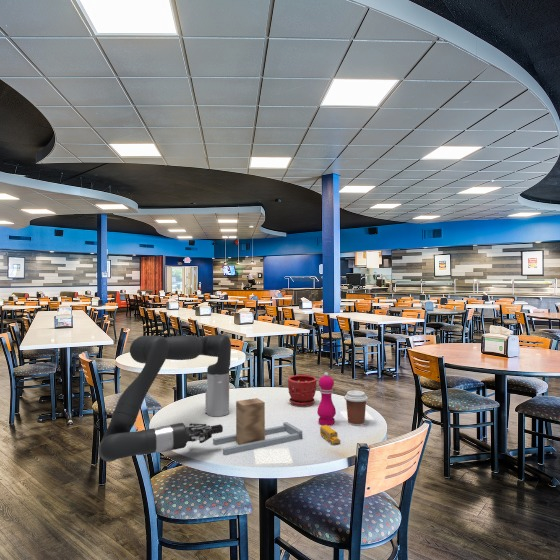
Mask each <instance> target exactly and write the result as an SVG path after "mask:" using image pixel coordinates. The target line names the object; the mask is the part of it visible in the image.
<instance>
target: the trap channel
mask: <svg viewBox="0 0 560 560" xmlns="http://www.w3.org/2000/svg"><path fill="white" fill-rule="evenodd" d="M284 432H286V433H288V434H286V435H282V436H276V437H271V438H265V440H261V441H256V442H251V443H246V444H241V445H239V444H238V445H232V446H228V447H223V448H222V454H223V456H229V455H232V454H238V453H241V452H242V453H243V452H246V451H252V450H256V449H261V448H266V447H270V446H275V445H280V444H284V443H291V442H294V441H297V440H302V439H303V430H301V429H300V428H299V427H297V426H295V425H293V424H291V423H289V422H287V421H285V422H283V425H279V426H274V427H267V428H265V436H268V435H273V434H279V433H284ZM233 442H236V433H235V434H231V435H224V436H221V437H215V438H212V444H213V445H214V446H219V445H223V444H228V443H233Z"/></svg>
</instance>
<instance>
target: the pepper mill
mask: <svg viewBox="0 0 560 560" xmlns="http://www.w3.org/2000/svg"><path fill="white" fill-rule="evenodd" d="M334 384H335V381H334V379H333V378H332V377H331V376H329V372H326V371H325V372H324V373H323V376H321V377H320V378H319V379H318V386H319V390H320V391H319V393H320V394H321V398H320V399H321V400H320V402H319V405H318V406H317V407H318V408H317V415H318V425H320V424H321V425H320V426H323V425H327V426H329V425H330V426H333V424H334V423H335V418H334V417H335V416H336V413H337V411H336V407H335V405H334V403H333V399H332V395H333V392H334V391H333V390H334V389H333V387H334V386H335V385H334ZM334 425H335V424H334ZM330 426H329V427H330Z"/></svg>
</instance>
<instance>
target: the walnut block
mask: <svg viewBox="0 0 560 560" xmlns="http://www.w3.org/2000/svg"><path fill="white" fill-rule="evenodd" d="M265 405H266V404H265V401H263V400H261V399H259V398H258V397H257V398H255V397H254V398H249V399H241V400H236V401H235V407H236V409H235V424H236V425H235V428H236V429H235V432H236V433H235V434H236V441H235V442H236V444H238V445H241V444H246V443H251V442H256V441H261V440H266V435H265V429H266V423H265V422H266V417H265V415H266V414H265V413H266V411H265V409H266V406H265Z"/></svg>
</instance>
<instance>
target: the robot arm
mask: <svg viewBox="0 0 560 560" xmlns="http://www.w3.org/2000/svg"><path fill="white" fill-rule="evenodd" d="M231 353H232V342H231V339H230V337H229V336H227V335H224V334H222V335H221V334H208V335H205V336H199V337H198V336H196V335H190V334H188V335H184V334H183V335H176V336H175V335H174V336H167V337H164V336H162V335H142V336H141V335H140V336H139V337H137V338H135V339H134V340H133V341H132V343H130V347H129V355H130V357H131V359H133V361H134V362H137V363H140V364H143V368H142V370H141V372H140V373H139V374H138V375H137V377H135V379H134V380H133V381H132V382H131V383H130V384H129V385H128V386H127V388H125V389H124V391H123V392H122V393H121V395H120V397H119V398H118V401H117V403H116V406H115V408H114V411H113V413H112V416H111V419H110V422H109V424H108V426H107V428H106V431H105V432H104V434H103V436H102V438H101V442H100V443H99V446H98V449H97V450H98V455H99V458H100V459H101V460H103V461H104V462H114V461H115V462H116V461H117V460H120V459H123V458H128V457H133V456H136V455H137V456H144V455H149V454H154V453H165V452H170V451H174V450H180V449H184V448H186V446H187V443H188V442H192V443H193V442H197V441H198V442H199V444H203V443H205V442H207V441H208V440H209V439H211V438H212V437H213V435H215V434H216V435H217V434H220V433H223V427H224V426H223V425H222V424H215V425H207V423H189V424H188V426H186V425H185V424H184V423H183V422H178V423H173V424H166V425H160V426H158V427H153V428H148V429H142V430H138V431H131V430H132V428H133V427H134V425H135V423H136V421H137V419H138V416H139V414H140V411H141V408H142V405H143V402H144V400H145V399H146V396H147V393H148V392H149V390H150V389H151V387H152V385H153V383H154V381H155V380H156V378H157V376H158V374H159V372H160V371H161V369H162V367H163V366H164V363H165V362H166V360H171V361H172V360H173V361H187V360H192V359H196V358H198V357H199V356H205V357H214V358H217V361H216V362H215V363H214V364H213V363H212V364H210V365H208V366H207V368H206V370H207V371H206V372H207V373H206V376H207V377H206V379H207V387H206V388H207V389H206V390H205V414H206V413H207V414H206V415H207V416H210V417H223V416H227V415H229V414H230V367H231V356H232V355H231Z"/></svg>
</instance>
